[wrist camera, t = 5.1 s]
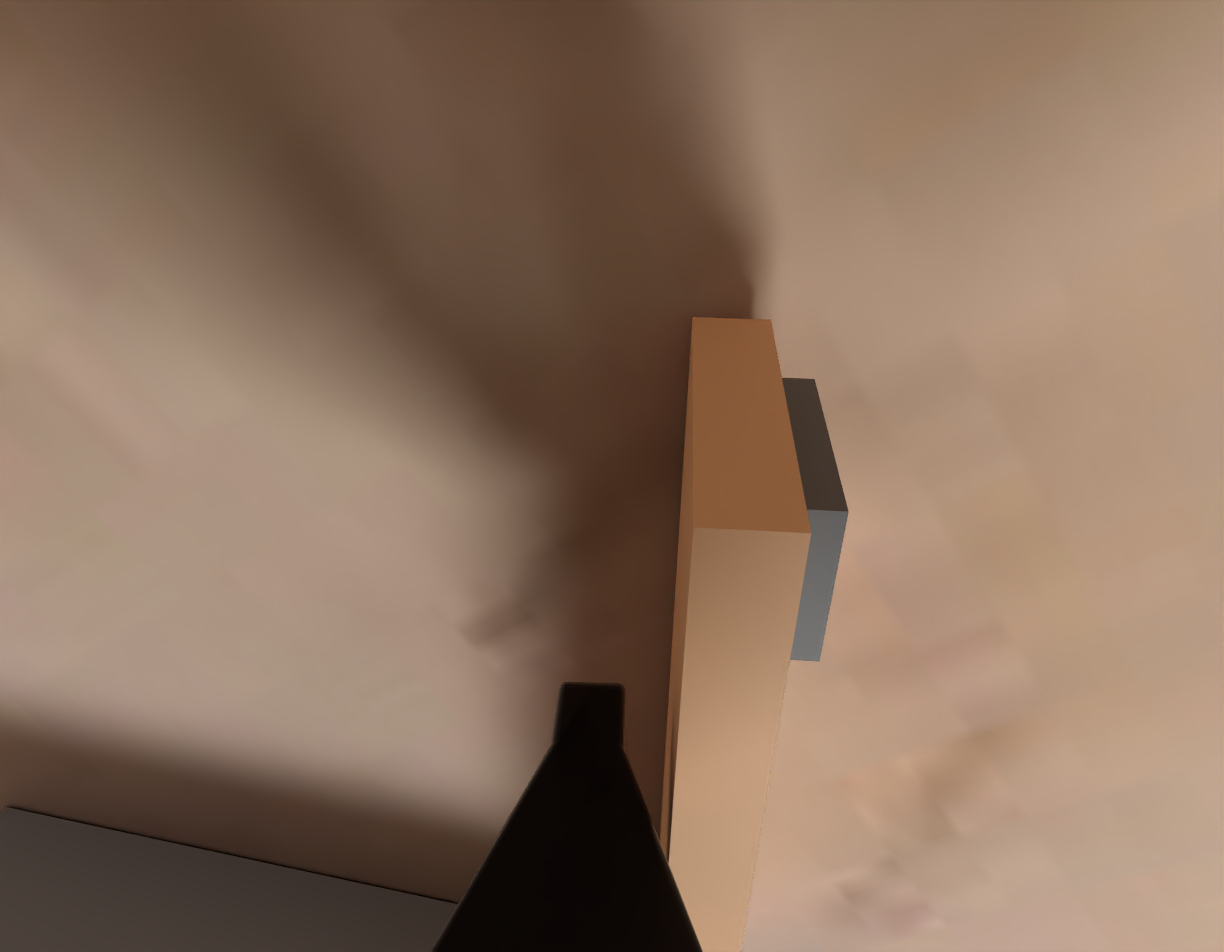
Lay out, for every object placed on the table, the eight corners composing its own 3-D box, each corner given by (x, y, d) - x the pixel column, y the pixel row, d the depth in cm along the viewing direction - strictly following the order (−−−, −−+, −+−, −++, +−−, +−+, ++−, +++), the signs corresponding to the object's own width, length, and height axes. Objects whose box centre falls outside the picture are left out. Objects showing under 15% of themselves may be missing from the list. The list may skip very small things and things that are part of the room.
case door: (653, 942, 16) (644, 1189, 13) (692, 316, 9) (693, 527, 6) (720, 947, 16) (728, 1197, 13) (809, 321, 9) (871, 536, 6)
